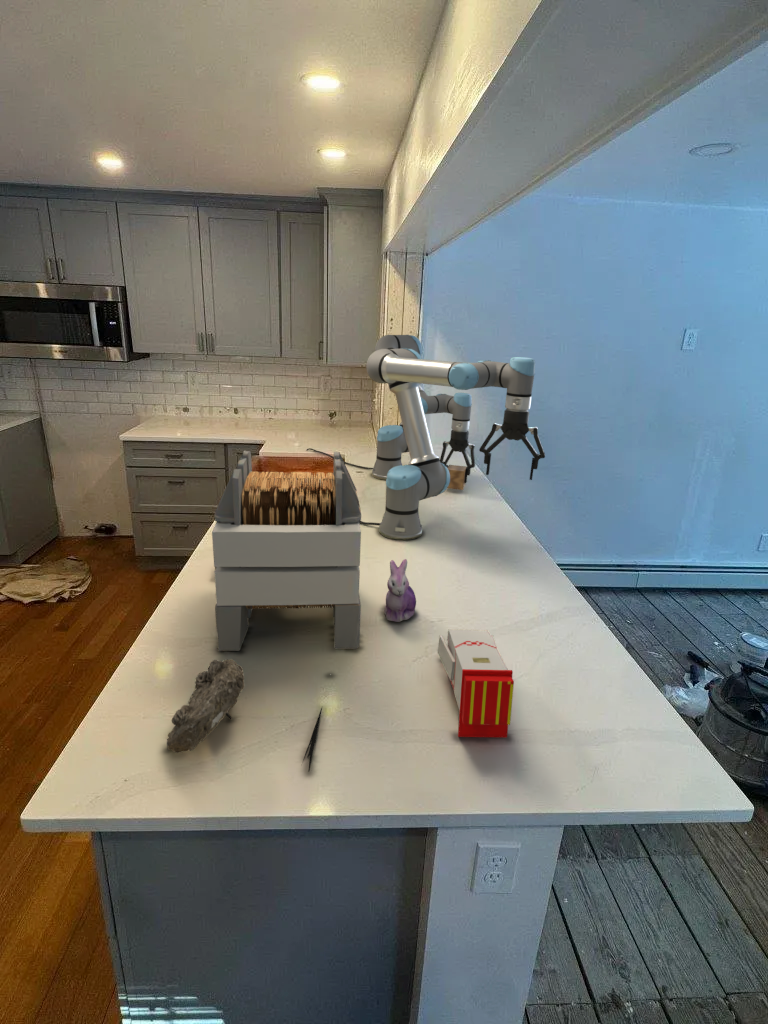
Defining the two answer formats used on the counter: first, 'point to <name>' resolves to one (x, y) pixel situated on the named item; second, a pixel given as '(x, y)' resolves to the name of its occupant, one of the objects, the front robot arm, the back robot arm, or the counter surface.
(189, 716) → the fossil
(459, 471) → the block
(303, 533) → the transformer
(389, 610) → the figurine
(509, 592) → the counter surface
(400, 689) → the counter surface
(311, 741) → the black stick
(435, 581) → the counter surface
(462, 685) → the toy
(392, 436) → the back robot arm
